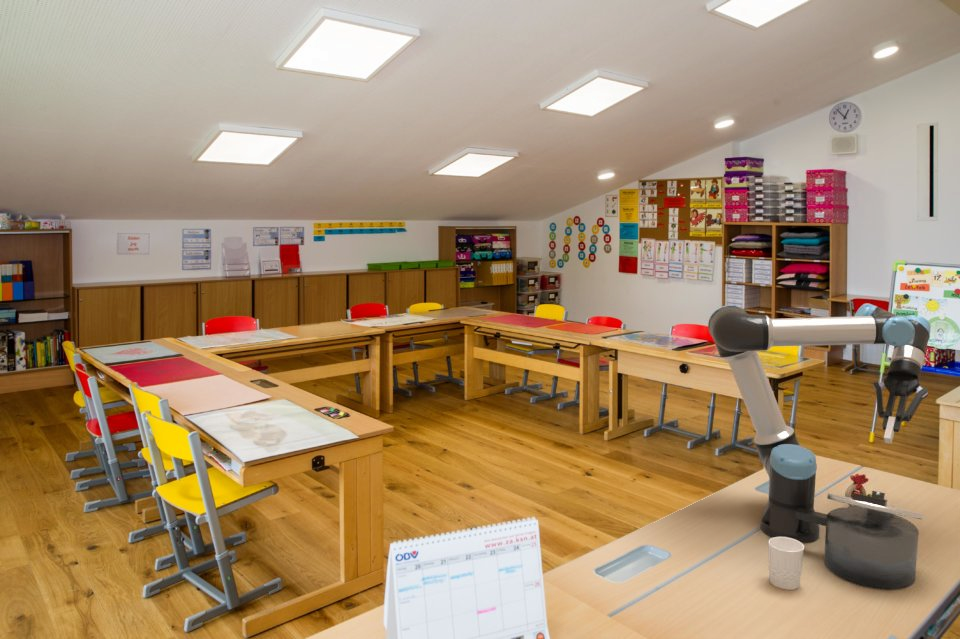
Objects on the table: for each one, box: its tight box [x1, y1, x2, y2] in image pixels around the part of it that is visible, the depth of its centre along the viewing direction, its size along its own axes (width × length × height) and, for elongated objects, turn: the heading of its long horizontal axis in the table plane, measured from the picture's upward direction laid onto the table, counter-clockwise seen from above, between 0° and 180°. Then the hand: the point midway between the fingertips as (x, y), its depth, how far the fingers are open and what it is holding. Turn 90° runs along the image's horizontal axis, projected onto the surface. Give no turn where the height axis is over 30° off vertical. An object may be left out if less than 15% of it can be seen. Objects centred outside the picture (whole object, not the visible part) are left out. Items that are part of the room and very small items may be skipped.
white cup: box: [768, 537, 805, 591], centre depth 171 cm, size 8×8×10 cm
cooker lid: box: [826, 490, 923, 520], centre depth 177 cm, size 21×21×4 cm
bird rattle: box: [844, 473, 872, 507], centre depth 213 cm, size 6×11×9 cm
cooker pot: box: [795, 506, 920, 591], centre depth 179 cm, size 28×20×12 cm
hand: (887, 440), depth 184 cm, fingers closed
